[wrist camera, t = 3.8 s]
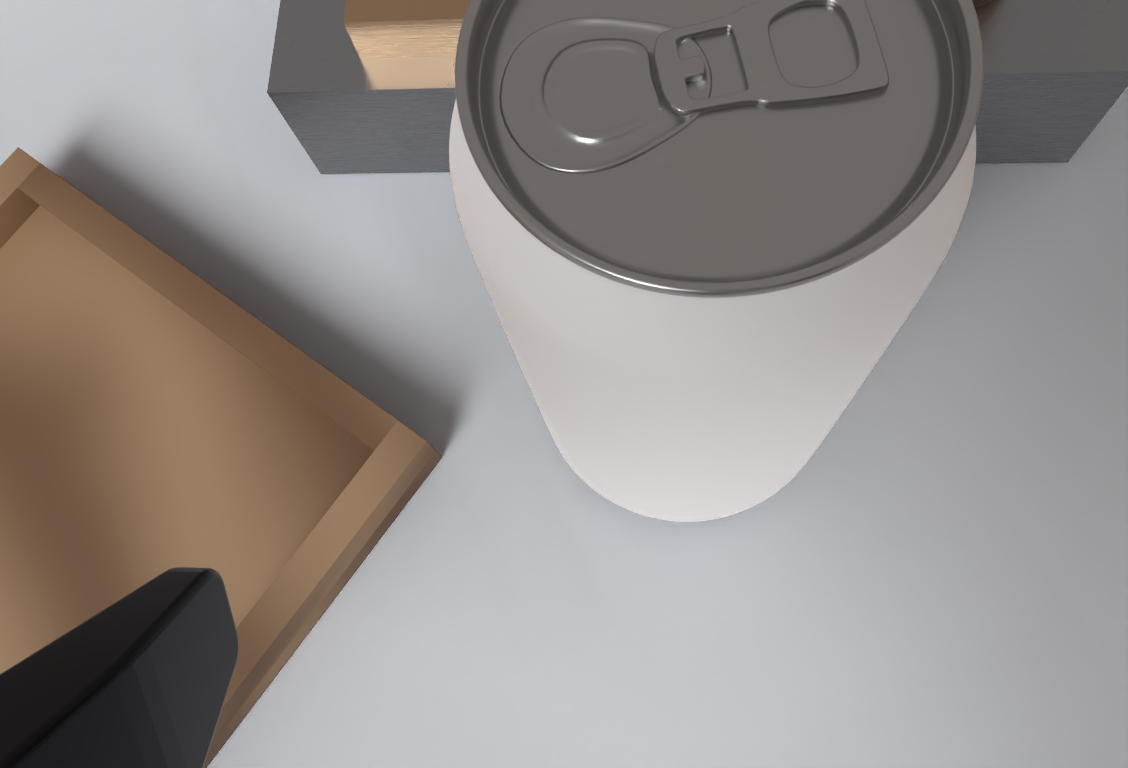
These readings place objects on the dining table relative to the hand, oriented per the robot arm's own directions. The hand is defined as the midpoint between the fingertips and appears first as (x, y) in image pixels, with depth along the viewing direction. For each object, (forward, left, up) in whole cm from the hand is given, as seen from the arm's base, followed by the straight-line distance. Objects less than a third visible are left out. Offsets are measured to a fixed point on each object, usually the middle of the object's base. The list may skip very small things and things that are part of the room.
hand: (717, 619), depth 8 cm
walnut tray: (-6, +13, -12) cm, 19 cm away
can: (+5, +3, -12) cm, 14 cm away
